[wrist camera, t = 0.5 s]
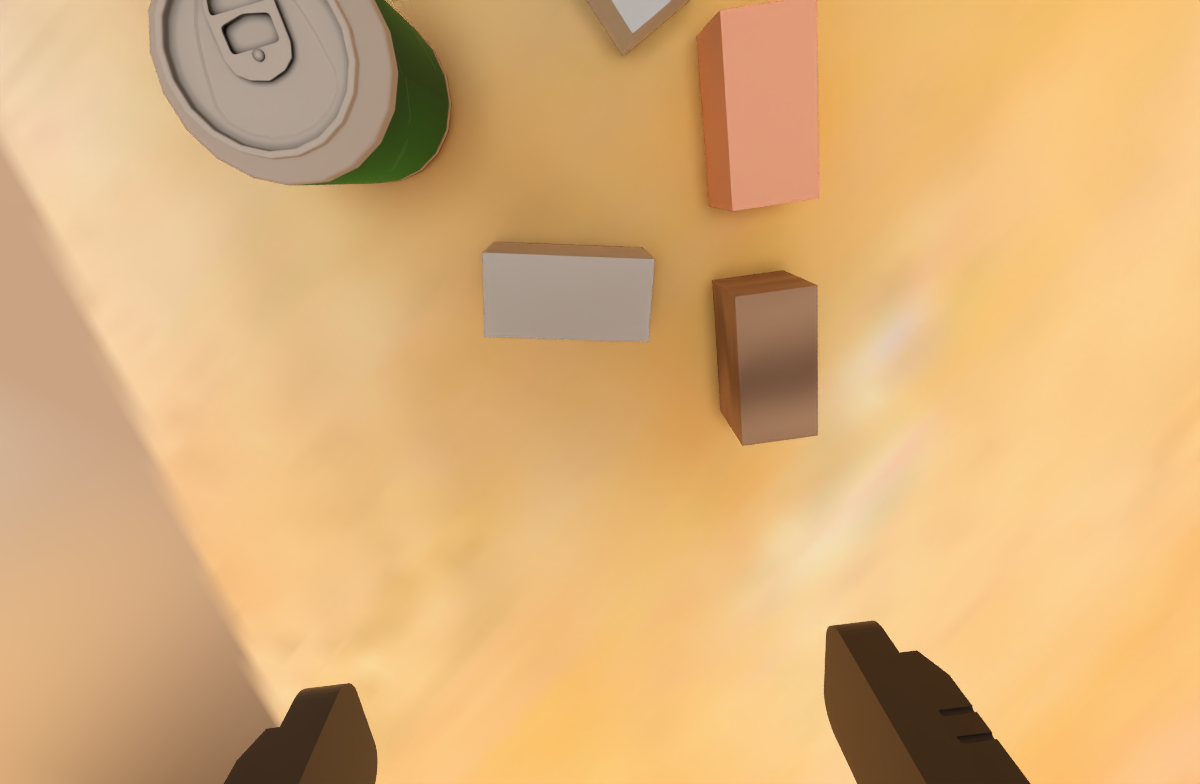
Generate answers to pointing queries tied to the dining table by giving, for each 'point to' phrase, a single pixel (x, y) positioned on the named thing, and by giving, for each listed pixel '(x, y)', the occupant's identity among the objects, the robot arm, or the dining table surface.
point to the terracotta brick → (760, 104)
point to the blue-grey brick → (633, 18)
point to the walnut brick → (767, 356)
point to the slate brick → (567, 291)
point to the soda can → (303, 87)
